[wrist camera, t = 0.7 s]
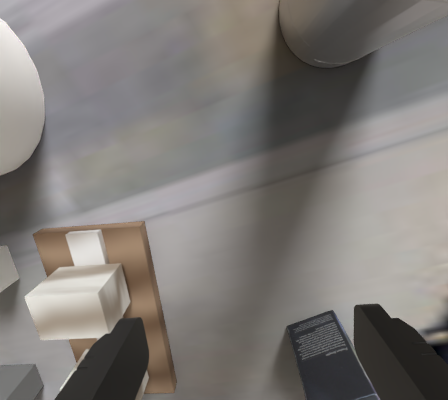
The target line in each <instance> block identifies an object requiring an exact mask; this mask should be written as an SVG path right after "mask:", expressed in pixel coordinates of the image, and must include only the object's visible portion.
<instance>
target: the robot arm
mask: <svg viewBox="0 0 448 400" xmlns="http://www.w3.org/2000/svg"><path fill="white" fill-rule="evenodd" d="M446 16H448V0H280V5H279V22H280V26H281V31H282V34H283V37H284V39H285V41H286V44H287V45H288V47H289V48H290V49H291V51H292V52H293V53H294V54H295V55H296V56H297V57H298V58H299V59H301V60H302V61H304V62H306V63H308V64H310V65H312V66H316V67H320V68H334V67H338V66H342V65H345V64H347V63H350V62H353V61H355V60H358V59H360V58H362V57H364V56H365V55H367V54H369V53H371V52H373V51H375V50H377V49H379V48H382V47H384V46H386V45H388V44H390V43H392V42H394V41H396V40H398V39H400V38H402V37H404V36H406V35H409V34H411V33H413V32H415V31H417V30H419V29H421V28H423V27H425V26H427V25H429V24H431V23H433V22H436V21H438V20H440V19H442V18H444V17H446ZM354 346H355V351H356V354H357V357H358V359H359V361H360V363H361V365H362V367H363V369H364V371H365V372H366V374H367V376H368V378H369V380H370V382H371V384H372V385H373V387H374V389H375V391H376V393H377V395H378V396H379V398H380V400H448V365H447V364H446V363H445V361H444V360H443V359H442V358H441V357H440V356H439V355H437V354H436V352H435V351H434V349H433V348H432V347H431V346H430V345H429V344H427V343H426V341H425V340H424V339H423V337H422V336H421V335H420V334H419V333H418V332H417V331H416V330H415V329H414V328H413V327H411V326H410V325H408V324H407V323H405V322H403V321H402V320H400V319H399V318H391V317H390V316H389V315H388V314H387V313H386V311H385V310H384V309H383V308H382V307H381V306H380V305H379V304H363V305H355V307H354ZM148 363H149V348H148V343H147V338H146V333H145V329H144V324H143V320H142V318H141V317H135V318H121V319H119V321H118V322H117V324H116V325H115V327H114V328H113V330H112V331H111V333H106V334H105V335H103V336H102V337H101V338H100V339H99V340H98V341H96V342H95V343H94V344H93V345H92V347H91V348H90V349H89V351H88V352H87V354H86V355H85V357H84V359H83V360H82V361H81V362H80V364H79V365H78V367H77V370H75V371H74V372H73V374H72V375H71V377H70V378H69V380H68V381H67V383H66V384H65V385H64V387H63V388H62V390H61V391H60V393H59V394H58V395H57V397H56V398H55V400H135V399H136V396H137V393H138V391H139V388H140V386H141V383H142V381H143V378H144V375H145V373H146V370H147V367H148Z"/></svg>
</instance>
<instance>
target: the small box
mask: <svg viewBox="0 0 448 400" xmlns="http://www.w3.org/2000/svg"><path fill="white" fill-rule="evenodd" d="M287 331H288V334H289V337H290V340H291V344H292V348H293V351H294V355H295V358H296V362H297V366H298V370H299V374H300V377H301V381H302V385H303V389H304V393H305V398H306V400H380V398H379V396H378V395H377V393H376V391H375V389H374V387H373V385H372V384H371V382H370V380H369V378H368V376H367V374H366V372H365V371H364V369H363V367H362V365H361V363H360V361H359V359H358V357H357V354H356V351H355V348H354V347H353V345H352V343H351V341H350V339H349V337H348V335H347V334H346V332H345V330H344V328H343V326H342V325H341V323H340V321H339V320H338V318H337V316H336V315H335V313H334V311H333V310H331V311H328V312H325V313H322V314H320V315H317V316H314V317H311V318H309V319H306V320H303V321H300V322H298V323H295V324H292V325H289V326H287Z"/></svg>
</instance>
